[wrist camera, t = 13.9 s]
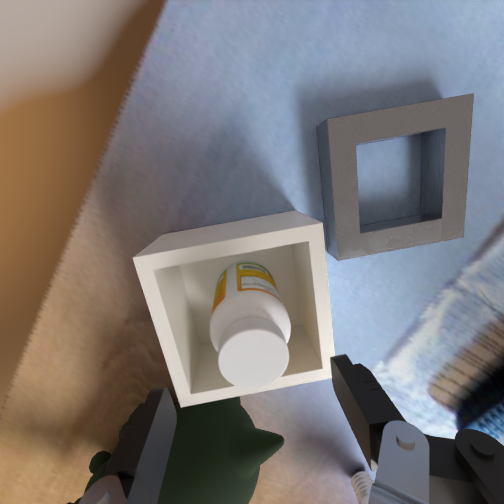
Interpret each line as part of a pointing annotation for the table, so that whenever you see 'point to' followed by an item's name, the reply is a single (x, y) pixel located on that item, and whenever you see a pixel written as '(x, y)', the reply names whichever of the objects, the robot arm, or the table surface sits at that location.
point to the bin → (203, 291)
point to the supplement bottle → (249, 326)
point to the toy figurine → (208, 455)
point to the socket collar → (432, 175)
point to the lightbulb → (362, 486)
